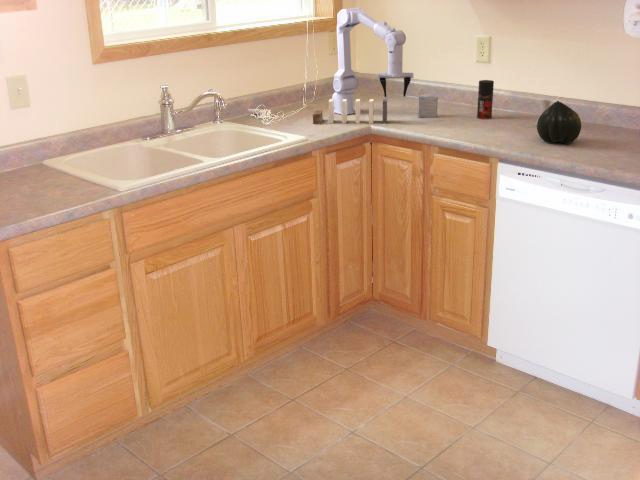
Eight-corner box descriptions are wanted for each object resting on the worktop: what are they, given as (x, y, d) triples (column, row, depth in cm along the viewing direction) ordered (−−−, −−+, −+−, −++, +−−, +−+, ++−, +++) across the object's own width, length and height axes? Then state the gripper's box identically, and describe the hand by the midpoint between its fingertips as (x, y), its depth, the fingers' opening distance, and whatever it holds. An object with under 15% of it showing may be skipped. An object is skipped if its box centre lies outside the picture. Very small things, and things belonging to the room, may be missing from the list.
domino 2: (342, 123, 305) (341, 101, 302) (343, 120, 310) (343, 99, 306) (346, 123, 305) (345, 101, 302) (347, 120, 309) (346, 99, 306)
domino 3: (355, 123, 304) (355, 101, 301) (356, 120, 309) (356, 98, 306) (359, 123, 304) (359, 101, 301) (360, 120, 309) (360, 99, 305)
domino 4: (368, 123, 304) (369, 101, 300) (369, 120, 308) (369, 98, 305) (372, 123, 304) (373, 101, 300) (373, 120, 308) (373, 98, 305)
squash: (572, 134, 255) (581, 97, 259) (529, 132, 263) (539, 95, 267) (578, 154, 267) (587, 118, 271) (537, 151, 275) (546, 115, 279)
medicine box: (436, 115, 315) (437, 94, 311) (437, 117, 310) (437, 96, 307) (417, 115, 315) (418, 95, 312) (418, 117, 311) (418, 97, 308)
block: (313, 123, 305) (312, 114, 304) (315, 119, 312) (315, 110, 311) (320, 123, 305) (320, 114, 303) (322, 119, 312) (322, 110, 311)
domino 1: (328, 123, 306) (328, 101, 302) (330, 120, 310) (329, 99, 307) (332, 123, 306) (332, 101, 302) (334, 120, 310) (333, 99, 307)
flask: (555, 124, 293) (557, 99, 290) (552, 128, 287) (554, 103, 284) (536, 123, 296) (538, 98, 293) (533, 127, 290) (535, 102, 286)
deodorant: (475, 118, 307) (477, 82, 301) (478, 115, 312) (480, 79, 306) (490, 119, 305) (492, 82, 299) (492, 116, 310) (495, 80, 304)
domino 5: (382, 123, 303) (382, 101, 300) (383, 120, 308) (383, 98, 304) (386, 123, 303) (386, 101, 300) (387, 120, 307) (387, 98, 304)
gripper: (377, 64, 292) (377, 98, 297) (414, 63, 292) (413, 97, 297) (376, 61, 299) (376, 95, 304) (412, 60, 298) (412, 94, 303)
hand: (394, 96), depth 301 cm, fingers open, 7 cm apart
